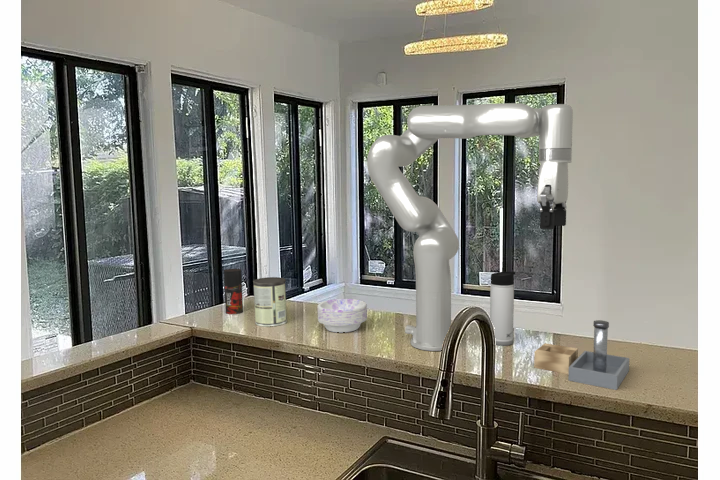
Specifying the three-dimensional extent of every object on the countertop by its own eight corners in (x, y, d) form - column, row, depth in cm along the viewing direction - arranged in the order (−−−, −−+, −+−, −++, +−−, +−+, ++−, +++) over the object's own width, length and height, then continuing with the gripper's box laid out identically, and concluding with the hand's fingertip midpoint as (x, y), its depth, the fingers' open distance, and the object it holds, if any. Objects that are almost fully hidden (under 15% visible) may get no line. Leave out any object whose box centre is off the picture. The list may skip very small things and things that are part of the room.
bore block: (534, 367, 131) (534, 351, 130) (544, 358, 137) (544, 343, 137) (568, 374, 126) (568, 357, 126) (577, 364, 133) (578, 348, 132)
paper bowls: (322, 337, 158) (321, 311, 157) (314, 324, 173) (313, 300, 172) (372, 333, 162) (372, 307, 161) (360, 320, 177) (360, 296, 176)
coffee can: (260, 318, 182) (259, 276, 180) (290, 319, 180) (289, 277, 179) (250, 326, 172) (248, 282, 170) (281, 327, 170) (280, 283, 168)
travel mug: (515, 346, 147) (516, 273, 145) (490, 345, 149) (491, 273, 146) (513, 339, 153) (514, 269, 151) (489, 338, 155) (490, 269, 152)
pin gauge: (590, 373, 125) (592, 322, 123) (593, 369, 127) (595, 319, 126) (605, 376, 123) (607, 324, 121) (608, 372, 125) (610, 321, 124)
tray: (568, 380, 122) (568, 367, 122) (584, 362, 133) (584, 350, 133) (616, 390, 116) (617, 376, 116) (628, 370, 128) (629, 358, 127)
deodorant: (223, 314, 188) (221, 271, 186) (228, 310, 194) (226, 268, 192) (240, 314, 187) (238, 271, 186) (245, 310, 193) (243, 268, 192)
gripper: (550, 158, 141) (548, 224, 143) (527, 156, 127) (526, 229, 129) (580, 157, 136) (578, 225, 138) (560, 155, 123) (558, 230, 124)
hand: (553, 227), depth 134 cm, fingers open, 9 cm apart
